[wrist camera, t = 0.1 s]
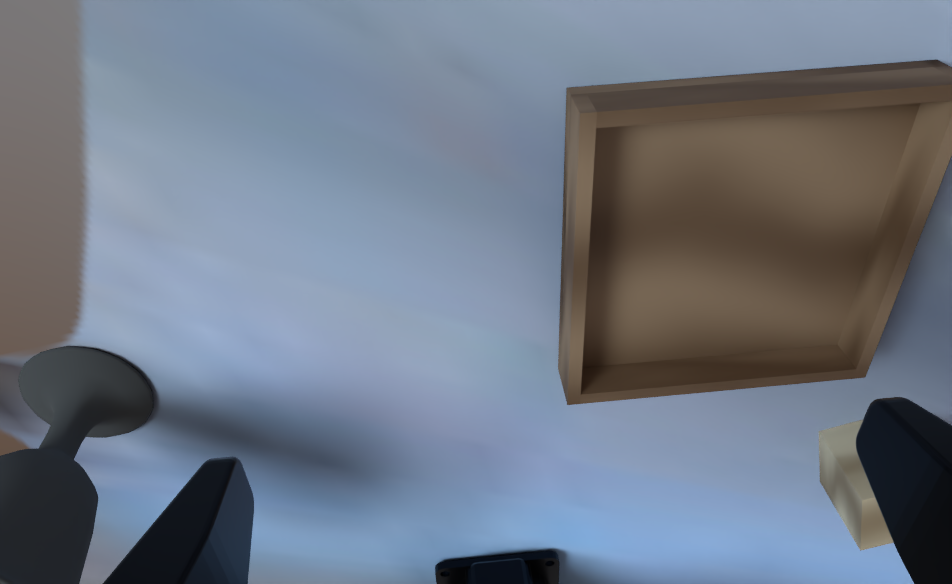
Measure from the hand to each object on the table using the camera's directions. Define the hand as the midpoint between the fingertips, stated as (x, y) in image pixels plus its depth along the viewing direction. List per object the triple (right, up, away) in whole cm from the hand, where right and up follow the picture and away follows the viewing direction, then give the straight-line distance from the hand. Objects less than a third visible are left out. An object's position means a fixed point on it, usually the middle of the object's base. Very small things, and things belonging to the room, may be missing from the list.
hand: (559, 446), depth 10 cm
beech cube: (+17, -5, +24) cm, 30 cm away
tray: (+8, +4, +16) cm, 18 cm away
